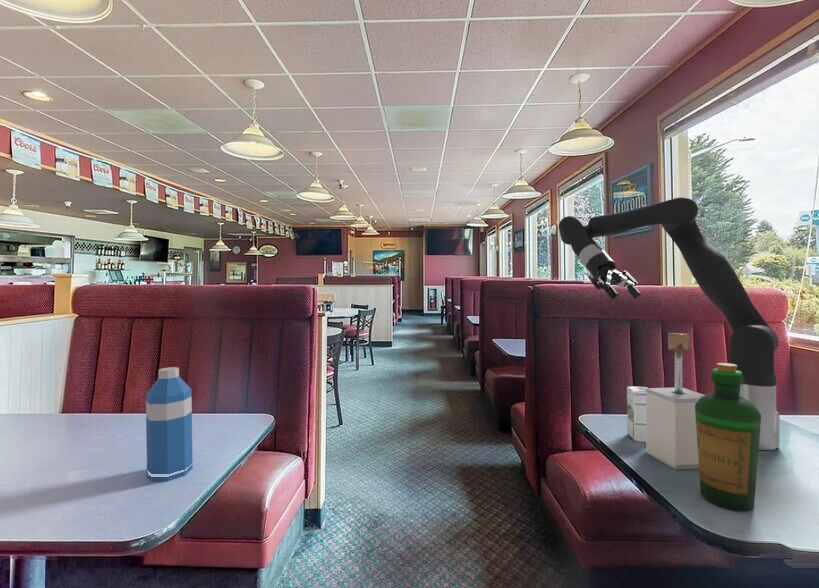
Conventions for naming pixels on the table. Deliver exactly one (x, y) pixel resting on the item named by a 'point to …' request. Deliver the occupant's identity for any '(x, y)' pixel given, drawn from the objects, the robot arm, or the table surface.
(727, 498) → the bottle
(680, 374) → the brown round knob
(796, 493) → the table surface
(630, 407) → the syrup box
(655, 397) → the white box
